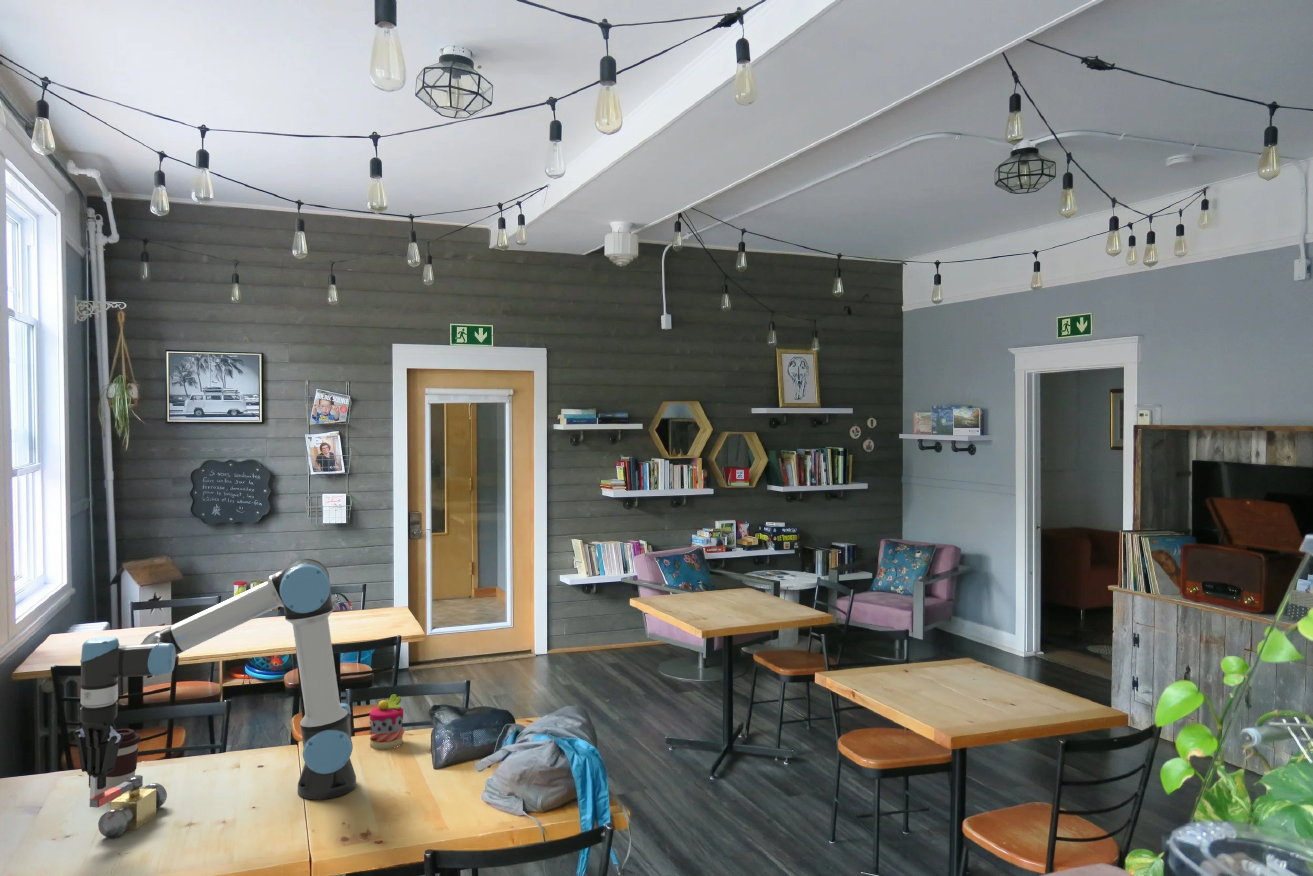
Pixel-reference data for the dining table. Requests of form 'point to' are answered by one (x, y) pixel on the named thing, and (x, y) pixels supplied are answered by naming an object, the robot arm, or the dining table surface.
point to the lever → (117, 791)
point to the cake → (386, 724)
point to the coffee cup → (124, 759)
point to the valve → (132, 810)
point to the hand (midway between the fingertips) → (97, 801)
